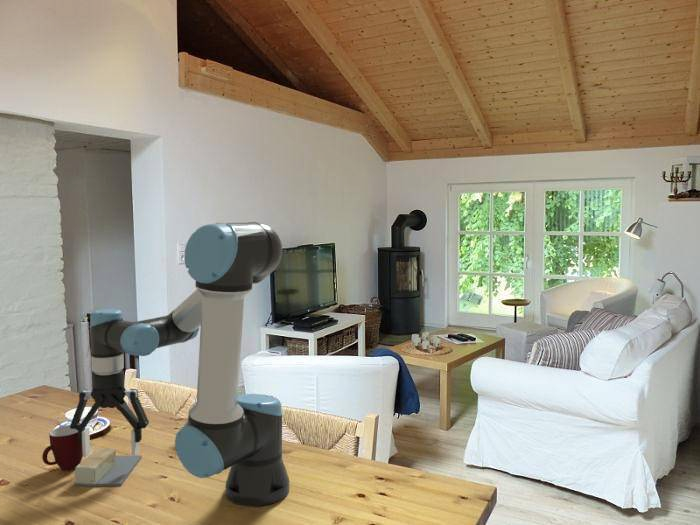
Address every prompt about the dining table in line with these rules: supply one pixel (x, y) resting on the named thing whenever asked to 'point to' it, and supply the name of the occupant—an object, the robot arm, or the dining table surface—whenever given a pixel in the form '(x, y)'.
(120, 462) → the mat
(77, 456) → the mug
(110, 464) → the box
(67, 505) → the dining table surface
